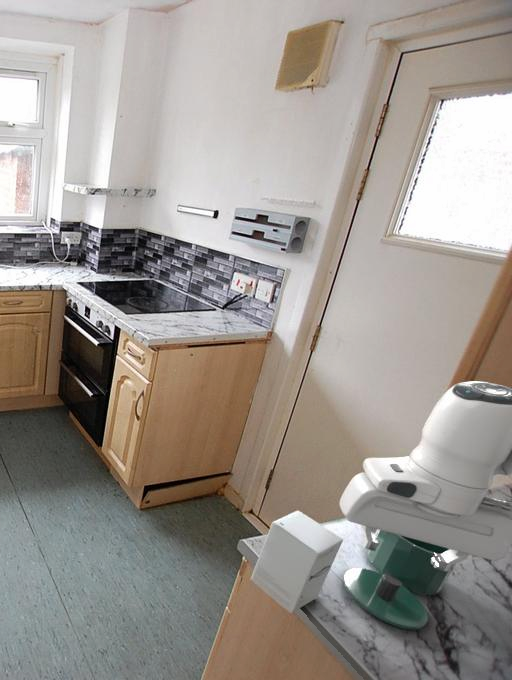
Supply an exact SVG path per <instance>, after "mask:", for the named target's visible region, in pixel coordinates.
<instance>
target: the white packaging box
mask: <svg viewBox="0 0 512 680" xmlns="http://www.w3.org/2000/svg"><path fill="white" fill-rule="evenodd" d="M343 541H344V539H343V538H342V537H340V536H339V535H337V534H336V533H335V532H333V531H332V530H331V529H328V528H326V527H325V526H323V525H322V524H321V523H319V522H317V521H316V520H314V519H313V518H311V517H309V516H308V515H306V514H305V513H303V512H302V511H300V510H295V511H293V512H291V513H288V514H287V515H284V516H282V517H281V518H278V519H276V520H274V521H272V522H271V525H270V527H269V530H268V533H267V535H266V538H265V541H264V543H263V545H262V548H261V551H260V554H259V556H258V559H257V561H256V564H255V566H254V570H253V571H252V574H251V577H250V581H251V582H253V583H254V584H255V585H256V586H257V587H258V588H259V589H261V590H262V591H263V592H264V593H265V594H267V595H268V596H269V597H270V598H271V599H273V600H274V601H275V602H276V603H277V604H278V605H280V606H281V607H282V608H283V609H284V610H285V611H287V612H288V613H289V614H291V615H292V614H294V613H295V612H297V611H298V610H299V609H301V608H302V607H304V606H306V605H307V604H308V603H310V602H313V601H314V600H316V599H318V596H319V594H320V593H321V589H322V588H323V586H324V583H325V581H326V579H327V577H328V575H329V573H330V571H331V568H332V567H333V563H334V562H335V559H336V557H337V555H338V553H339V550H340V548H341V545H342V543H343Z"/></svg>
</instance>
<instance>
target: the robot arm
mask: <svg viewBox="0 0 512 680" xmlns="http://www.w3.org/2000/svg"><path fill="white" fill-rule="evenodd" d="M362 468H363V470H364V471H362V472H359V473H357V474H356V475H354V476H353V477H352V479H351V480H350V481H349V483H348V484H347V485H346V487H345V489H344V490H343V492H342V495H341V497H340V499H339V508H340V511H341V512H342V514H343V515H344V517H345V519H346V520H347V521H348V522H350V523H354V524H357V525H360V526H361V529H362V533H363V535H362V537H361V539H360V544H361V546H362V547H363V548H364V549H366V550H368V551H369V550H373V551H376V547H378V545H379V543H378V541H377V540H376V538H375V536H376V535H372V534H377V532H378V530H382V531H386V532H390V533H393V534H397V535H401V536H404V537H408V538H412V539H415V540H419V541H423V542H426V543H430V544H433V545H437V546H441V547H444V548H448V549H449V550H447V551H446V552H444V553H442V554H437V553H434V555H433V558H431V564H432V565H433V567H434V568H436V569H439V570H443V571H446V572H447V571H448V570H449V568H450V567H451V565H452V564H455V563H456V564H457V563H461V562H463V561H465V560H467V559H468V557H469V556H474V557H477V558H481V559H484V560H488V561H492V562H497V561H500V560H503V559H505V558H506V557H507V555H508V554H509V552H510V549H511V547H512V502H511V501H507V500H500V499H496V498H494V497H490V496H487V493H488V492H489V490H490V488H491V487H492V485H493V481H494V476H497V475H503V476H507V477H508V478H509V479H511V480H512V388H511V387H509V386H506V385H503V384H497V383H491V382H487V381H479V380H478V381H474V380H472V381H464V382H458V383H455V384H453V385H452V386H451V387H450V388H449V389H448V390H446V392H445V393H444V394H442V396H441V397H440V398H439V399H438V401H437V403H436V404H435V405H434V407H433V409H432V410H431V412H430V414H429V416H428V418H427V419H426V421H425V423H424V426H423V428H422V431H421V439H420V442H419V444H418V445H417V446H416V447H415V448H413V450H412V451H411V453H410V454H409V456H400V457H399V456H398V457H397V456H396V457H368V458H365V459H364V461H363V463H362Z"/></svg>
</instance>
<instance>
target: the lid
mask: <svg viewBox="0 0 512 680" xmlns="http://www.w3.org/2000/svg"><path fill="white" fill-rule="evenodd" d="M342 582H343V586H344V588H345V590H346V592H347V593H348V595H349V596H350V597H351V598H352V599H353V601H355V602H356V604H358V605H359V606H360V607H361V608H363V609H364V610H365V611H367V612H368V613H369V614H371V615H373V617H375V618H377V619H379V620H381V621H383V622H385V623H387V624H389V625H391V626H394V627H397V628H401V629H405V630H420V629H422V628H424V627H425V626H426V624H427V622H428V619H429V617H428V612H427V609H426V608H425V606H424V605H423V603H422V602H421V600H420V599H418V597H417V596H416V595H415V594H414V593H413V592H411V591H409V590H408V589H406V588H405V587H404V586H402V583H401V581H400V580H399V579H398V578H397V577H395V576H393V575H391V574H387V573H386V574H384V575H383V574H380V573H379V572H378V571H375V570H371V569H367V568H362V567H354V568H350V569H348V570H346V571H345V573H344V574H343V578H342Z"/></svg>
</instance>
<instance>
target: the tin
mask: <svg viewBox="0 0 512 680" xmlns="http://www.w3.org/2000/svg"><path fill="white" fill-rule="evenodd" d="M375 534H376V535H374V536H375V538H376V540H377V541H378V543H379V545H378V547H376V551H373V550H369V549H368V552H367V559H368V561H369V563H370V564H371V566H372V567H373V568H374V569H375V570H376V572H378V573H380V574H383V575H384V574H386V573H387V574H391V575H393V576H395V577H397V578H398V579H399V580H400V581H401V583H402V586H404V587H405V588H406V589H408V590H409V591H410V592H411V593H413V594H414V593H415V594H418V595H423V596H435V595H437V594H439V593H440V592H441V590H442V589H443V588H444V586H445V584H446V583H447V581H448V579H449V577H450V575H451V574H452V572H453V570H454V568H456V565H457V563H455V564H452V565H451V567H450V568H449V570H448V571H447V572H446V571H443V570H439V569H436V568H434V567H433V565H432V564H431V558H433V555H434V553H437V554H442V553H444V552H446V551H447V550H449V549H448V548H444V547H441V546H437V545H433V544H430V543H426V542H423V541H419V540H415V539H412V538H408V537H404V536H401V535H397V534H393V533H390V532H386V531H382V530H379V529H377V531H376V533H375Z"/></svg>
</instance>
